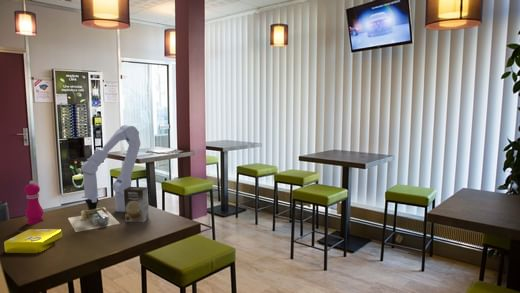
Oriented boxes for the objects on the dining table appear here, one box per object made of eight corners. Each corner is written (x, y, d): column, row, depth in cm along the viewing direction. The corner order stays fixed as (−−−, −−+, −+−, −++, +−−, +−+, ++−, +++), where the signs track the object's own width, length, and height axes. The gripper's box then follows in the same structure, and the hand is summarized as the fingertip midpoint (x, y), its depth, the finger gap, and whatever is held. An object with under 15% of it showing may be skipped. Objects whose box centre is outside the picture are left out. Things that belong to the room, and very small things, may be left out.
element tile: (64, 239, 151) (63, 227, 150) (40, 253, 136) (39, 241, 135) (29, 238, 152) (28, 227, 151) (2, 253, 137) (1, 241, 136)
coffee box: (124, 224, 167) (122, 189, 165) (131, 219, 173) (129, 186, 171) (144, 224, 166) (142, 189, 164) (149, 220, 172) (147, 186, 170)
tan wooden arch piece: (104, 214, 178) (104, 207, 178) (106, 216, 174) (106, 209, 174) (81, 218, 172) (81, 210, 172) (83, 220, 168) (82, 213, 168)
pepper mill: (35, 225, 167) (31, 182, 165) (22, 224, 169) (18, 182, 166) (47, 220, 174) (44, 179, 172) (34, 219, 176) (31, 179, 173)
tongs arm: (93, 216, 174) (93, 209, 173) (100, 224, 163) (99, 215, 163) (87, 218, 172) (87, 210, 172) (94, 225, 162) (93, 217, 161)
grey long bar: (102, 215, 176) (102, 208, 176) (110, 225, 162) (110, 217, 162) (93, 217, 174) (92, 210, 173) (100, 227, 160) (100, 219, 159)
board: (108, 213, 184) (107, 211, 184) (120, 226, 164) (120, 223, 164) (68, 220, 174) (67, 217, 174) (75, 234, 154) (75, 232, 154)
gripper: (79, 184, 178) (81, 211, 180) (84, 190, 167) (86, 219, 168) (94, 182, 182) (96, 209, 184) (100, 188, 171) (102, 216, 172)
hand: (92, 213), depth 176 cm, fingers closed
